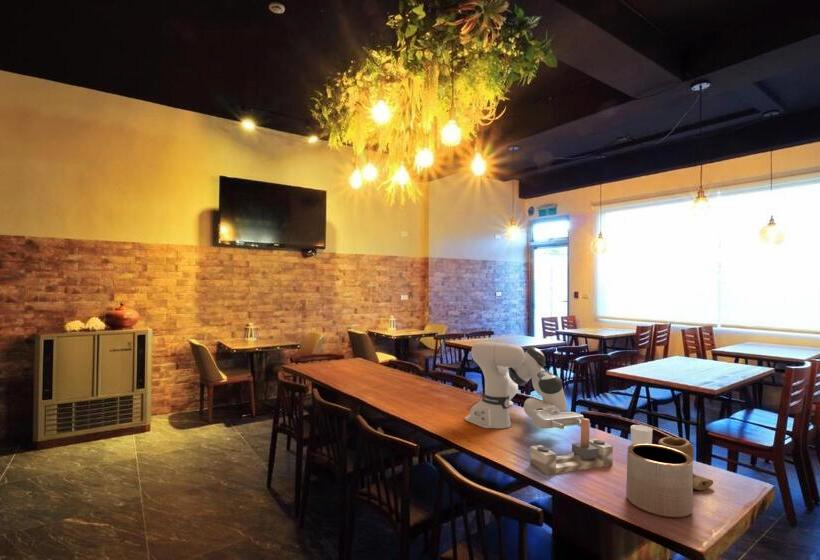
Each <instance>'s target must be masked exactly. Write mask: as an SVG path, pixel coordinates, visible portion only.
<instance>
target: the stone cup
mask: <svg viewBox="0 0 820 560" xmlns="http://www.w3.org/2000/svg"><path fill="white" fill-rule="evenodd" d="M657 445H661V446H666V447H670V448H673V449H676V450H679V451H681V452H684V453H686V454H687V455H689V456H690V457H691V458H692V460H693V461H694V456H695V453H694V451H695V450H694V447H693V445H692V443H691V441H689V440H688V439H686V438H684V437H673V436H665V437H662V438H660V439H659V440H658V442H657ZM713 484H714V480H712V479H709V478H707V477H704V476H700V475H697V474H694V473H693V490H697V491H704V490H707V489H709V488H711V486H712V485H713Z"/></svg>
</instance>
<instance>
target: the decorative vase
mask: <svg viewBox="0 0 820 560" xmlns="http://www.w3.org/2000/svg"><path fill="white" fill-rule="evenodd" d="M497 368H498V370H499V371H500V372H501V373H503V374H504V375H505V376H506V377H507V378H508V381H509V391H508V395H509V406H512V405H513V404H514V402H513V401H512V399H513V398H514V397H515V396H516V394H517V393H518V392H519V385H518V384H516V383H514V382H513V381H512V380H511V378H510V376H509V369H508V367H503V366H497Z"/></svg>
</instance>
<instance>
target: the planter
mask: <svg viewBox="0 0 820 560" xmlns="http://www.w3.org/2000/svg"><path fill="white" fill-rule="evenodd" d="M626 452H627V453H626V454H627V455H626V456H627V457H626V458H627V459H626V484H625V485H626V486H625V487H626V488H625V490H626V491H625V492H626V493H625V494H626V499H628V501H629V502H631V504H633V506H635V507H637V508H638V509H640V510H641V511H644V512H646V513H648V512H649V514H651V515H655V516H658V517H663V518H673V519H676V518H685V517H687V516H689V515H690V514H692V512H693V507H694V489H693V474H694V464H693V463H694V459H693V460H692V458H691V457H690V456H689V455H687V454H686V453H684V452H681V451H679V450H676V449H673V448H670V447H666V446H661V445H658V444H653V443H652V444H633V445H629V446H628V447H627V451H626Z"/></svg>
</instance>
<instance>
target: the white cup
mask: <svg viewBox="0 0 820 560" xmlns="http://www.w3.org/2000/svg"><path fill="white" fill-rule="evenodd" d="M653 430H654V429H653V428H651V427H650V426H646V425H641V424H632V425H630V443H631V445H633V444H653V433H654V432H653Z"/></svg>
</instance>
